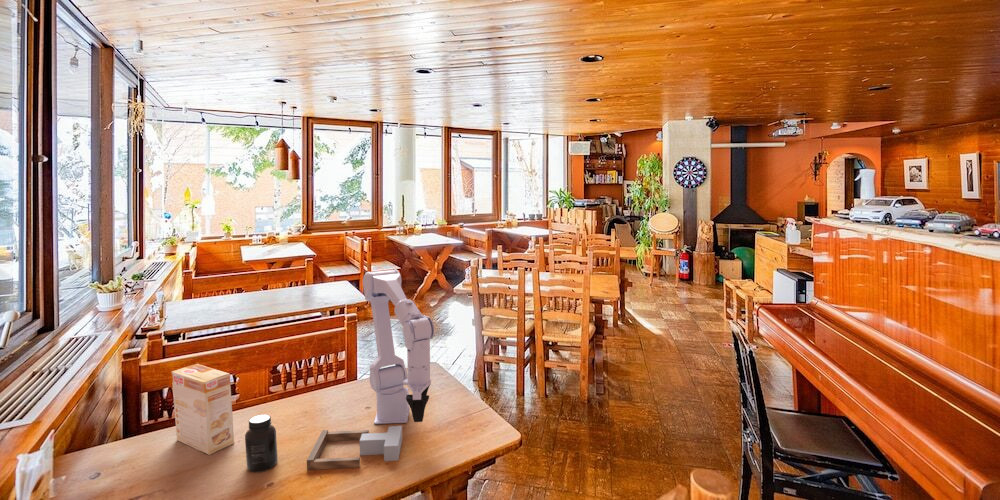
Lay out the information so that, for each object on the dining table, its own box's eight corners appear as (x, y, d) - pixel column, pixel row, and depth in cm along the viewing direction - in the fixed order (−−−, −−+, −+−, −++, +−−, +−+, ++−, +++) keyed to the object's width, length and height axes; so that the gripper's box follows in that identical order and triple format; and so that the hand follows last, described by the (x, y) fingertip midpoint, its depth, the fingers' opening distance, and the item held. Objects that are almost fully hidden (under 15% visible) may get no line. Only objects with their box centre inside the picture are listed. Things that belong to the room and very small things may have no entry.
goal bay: (368, 436, 131) (368, 428, 130) (359, 467, 116) (358, 457, 116) (322, 438, 129) (322, 430, 129) (307, 469, 115) (306, 460, 115)
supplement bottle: (284, 460, 119) (281, 414, 118) (262, 475, 113) (259, 427, 111) (262, 454, 121) (260, 410, 120) (240, 469, 115) (237, 422, 114)
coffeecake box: (235, 443, 127) (231, 373, 124) (208, 456, 121) (203, 382, 118) (202, 429, 134) (197, 362, 131) (175, 440, 128) (169, 371, 125)
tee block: (402, 439, 129) (402, 425, 129) (398, 460, 120) (398, 445, 119) (364, 441, 128) (364, 427, 128) (357, 462, 119) (357, 447, 118)
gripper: (405, 354, 129) (406, 402, 131) (399, 375, 115) (400, 428, 116) (432, 354, 130) (432, 401, 131) (429, 374, 115) (429, 427, 117)
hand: (419, 414), depth 124 cm, fingers open, 7 cm apart
